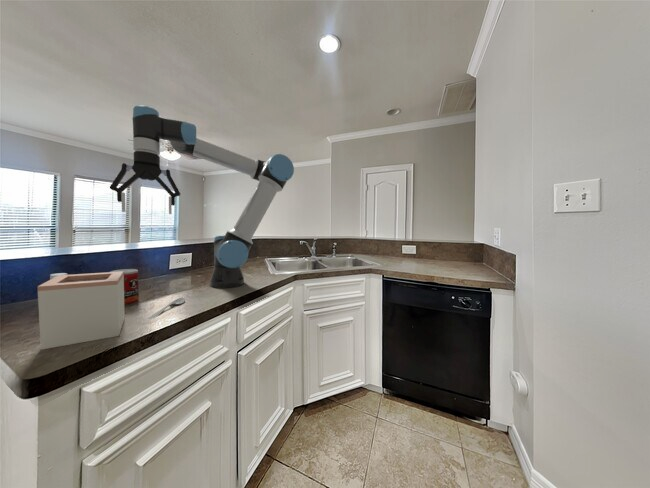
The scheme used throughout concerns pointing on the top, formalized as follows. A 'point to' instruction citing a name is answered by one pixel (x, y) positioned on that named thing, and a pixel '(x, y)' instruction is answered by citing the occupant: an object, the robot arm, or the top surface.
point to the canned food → (130, 285)
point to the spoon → (180, 301)
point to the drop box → (80, 308)
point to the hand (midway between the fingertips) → (148, 213)
